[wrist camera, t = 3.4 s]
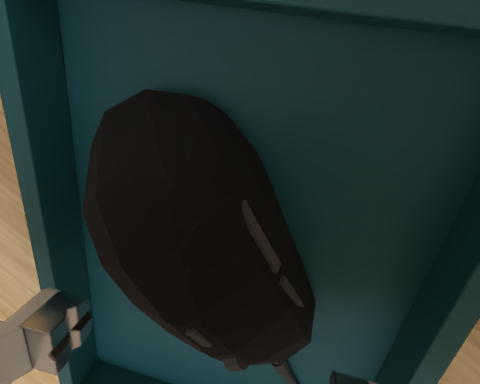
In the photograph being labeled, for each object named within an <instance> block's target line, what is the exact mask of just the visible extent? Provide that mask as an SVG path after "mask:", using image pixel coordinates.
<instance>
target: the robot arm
mask: <svg viewBox="0 0 480 384" xmlns="http://www.w3.org/2000/svg"><path fill="white" fill-rule="evenodd" d="M90 308H91V304H90V300H88V299H85V298H82V297H79V296H76V295H73V294H70V293H67V292H64V291H61V290H57V289H54V288H51V287H48V288H45V289H43V290H42V291H40V292H39V293H38V294H37V295H36V296H34V297H33V298H32V299H31V300H30V301H28V302H27V303H26V304H25V305H24V306H22V307H21V308H20V309H19V310H18V311H17V312H15V313H14V314H13V315H12V316H11V317H9V318H8V319H7V320H6V321H5V322H3V321H0V384H10V383H11V382H13V381H15V380H16V379H18V378H20V377H21V376H23V375H25V374H26V373H28V372H30V371H31V370H32V368H34V369H37V370H41V371H44V372H47V373H50V374H54V375H57V374H58V373H59V372H60V370H61V369H62V368H63V367H64V366H65V364H66V363H67V362H68V361H69V360H70V358H71V357H72V350H73V349H75V348H77V347H79V346H81V345H82V344H83V342H84V341H85V340H86V339H87V337H88V335H89V333H90V331H91V329H92V323H93V321H92V316H91V315H90V313H89V312H88V310H89V309H90ZM329 384H379V383H376V382H372V381H369V380H366V379H363V378H360V377H356V376H352V375H349V374H345V373H341V372H338V371H334V370H333V371H332V372H331V374H330V377H329Z"/></svg>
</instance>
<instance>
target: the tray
mask: <svg viewBox="0 0 480 384" xmlns="http://www.w3.org/2000/svg"><path fill="white" fill-rule="evenodd" d="M144 89H151V90H158V91H166V92H173V93H181V94H188V95H192V96H195V97H199V98H203V99H206V100H208V101H209V102H211V103H212V104H214V105H215V106H216V107H218V108H219V109H221V110H222V111H224V112H225V113H226V114H227V115H228V116H229V117H230V119H231V120H232V121H233V122H234V124H235V125H236V126H237V127H238V129H239V130H240V131H241V132H242V134H243V135H244V136H245V137H246V139H247V140H248V141H249V142H250V144H251V145H252V146H253V147H254V149H255V150H256V151H257V152H258V155H259V157H260V159H261V161H262V164H263V166H264V168H265V170H266V173H267V175H268V177H269V179H270V182H271V184H272V186H273V189H274V191H275V194H276V197H277V200H278V202H279V205H280V208H281V211H282V213H283V216H284V219H285V222H286V224H287V227H288V229H289V232H290V234H291V237H292V239H293V241H294V244H295V246H296V249H297V251H298V253H299V256H300V258H301V261H302V263H303V265H304V268H305V271H306V274H307V277H308V280H309V283H310V286H311V289H312V292H313V294H314V297H315V300H316V304H315V311H314V320H313V328H312V337H311V343H309V344H308V345H307V346H305V347H304V348H302V349H301V350H300V351H298V352H297V353H296V354H294V355H293V356H292V357H290V358H289V359H287V360H286V361H287V362H288V365H289V367H290V369H289V371H290V372H291V374H292V375H293V377H294V378H295V380H296V382H297V383H298V384H329V377H330V374H331V372H332V371H333V370H334V371H338V372H341V373H345V374H349V375H352V376H356V377H360V378H363V379H366V380H369V381H372V382H376V383H379V384H437V383H438V382H439V380H440V378H441V377H442V375H443V374H444V372H445V371H446V369H447V368H448V366H449V365H450V363H451V361H452V360H453V358H454V357H455V355H456V354H457V352H458V351H459V349H460V348H461V346H462V344H463V343H464V341H465V340H466V338H467V337H468V335H469V334H470V332H471V330H472V329H473V327H474V326H475V324H476V323H477V321H478V320H479V318H480V0H0V94H1V99H2V104H3V109H4V113H5V118H6V123H7V128H8V133H9V138H10V143H11V148H12V152H13V157H14V162H15V167H16V172H17V177H18V182H19V187H20V191H21V196H22V201H23V206H24V211H25V216H26V221H27V226H28V230H29V235H30V240H31V245H32V250H33V255H34V260H35V264H36V269H37V274H38V279H39V284H40V289H41V291H42V290H43V289H45V288H48V287H51V288H54V289H57V290H61V291H64V292H67V293H70V294H73V295H76V296H79V297H82V298H85V299H88V300H90V304H91V308H90V309H89V310H88V312H89V313H90V315H91V316H92V321H93V323H92V329H91V331H90V333H89V335H88V337H87V339H86V340H85V341H84V342H83V344H82V345H81V346H79V347H77V348H75V349H73V350H72V357H71V358H70V360H69V361H68V362H67V363H66V364H65V366H64V367H63V368H62V369H61V370H60V372H59V373H58V377H59V381H60V384H288V383H287V382H286V380H285V379H284V377H283V376H282V375H279V374H278V373H277V372H276V370H275V369H274V367H273V366H272V363H270V364H261V365H249V366H248V368H247V369H245V370H243V371H234V372H229V371H228V370H227V369H226V368H225V366H224V363H223V362H222V361H219V360H216V359H214V358H211V357H209V356H208V355H207V354H204V353H202V352H199V351H198V350H196V349H194V348H193V347H191V346H189V345H188V344H186V343H184V342H183V341H181V340H179V339H178V338H176V337H174V336H173V335H171V334H169V333H168V332H167V331H166V330H164V329H163V328H162V327H161V326H159V325H158V324H157V323H156V322H154V321H153V320H152V319H151V318H149V317H148V316H147V315H146V314H144V313H143V312H142V311H141V310H139V309H138V308H137V307H135V306H134V305H133V304H132V303H131V301H130V300H129V299H128V298H127V297H126V295H125V294H124V293H123V292H122V290H121V289H120V288H119V287H118V286H117V284H116V283H115V282H114V281H113V279H112V278H111V277H110V276H109V275H108V273H107V272H106V271H105V270H104V268H103V267H102V265H101V262H100V260H99V257H98V254H97V252H96V249H95V246H94V243H93V241H92V238H91V235H90V233H89V230H88V227H87V225H86V222H85V219H84V217H83V214H82V209H83V202H84V194H85V187H86V180H87V172H88V165H89V158H90V151H91V144H92V142H93V139H94V137H95V134H96V132H97V129H98V127H99V124H100V122H101V119H102V117H103V114H104V112H105V111H106V110H108V109H110V108H112V107H114V106H115V105H117V104H119V103H121V102H122V101H124V100H126V99H128V98H130V97H131V96H133V95H135V94H137V93H138V92H140V91H142V90H144Z"/></svg>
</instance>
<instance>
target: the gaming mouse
mask: <svg viewBox="0 0 480 384" xmlns="http://www.w3.org/2000/svg"><path fill="white" fill-rule="evenodd" d="M82 214H83V217H84V219H85V222H86V225H87V227H88V230H89V233H90V235H91V238H92V241H93V243H94V246H95V249H96V252H97V254H98V257H99V260H100V262H101V265H102V267H103V268H104V270H105V271H106V272H107V273H108V275H109V276H110V277H111V278H112V279H113V281H114V282H115V283H116V284H117V286H118V287H119V288H120V289H121V290H122V292H123V293H124V294H125V295H126V297H127V298H128V299H129V300H130V301H131V303H132V304H133V305H134V306H135V307H137V308H138V309H139V310H141V311H142V312H143V313H144V314H146V315H147V316H148V317H149V318H151V319H152V320H153V321H154V322H156V323H157V324H158V325H159V326H161V327H162V328H163V329H164V330H166V331H167V332H168V333H169V334H171V335H173V336H174V337H176V338H178V339H179V340H181V341H183V342H184V343H186V344H188V345H189V346H191V347H193V348H194V349H196V350H198V351H199V352H202V353H204V354H207V355H208V356H209V357H211V358H214V359H216V360H219V361H222V362H223V363H224V366H225V368H226V369H227V370H228V371H229V372H234V371H243V370H245V369H247V368H248V366H249V365H261V364H270V363H272V366H273V367H274V369H275V370H276V372H277V373H278V374H279V375H282V376H283V377H284V379H285V380H286V382H287V383H288V384H298V383H297V382H296V380H295V378H294V377H293V375H292V374H291V372H290V371H289V369H290V367H289V365H288V362H287V361H286V360H287V359H289V358H290V357H292V356H293V355H294V354H296V353H297V352H298V351H300V350H301V349H302V348H304V347H305V346H307V345H308V344H309V343H311V337H312V328H313V320H314V311H315V304H316V300H315V297H314V294H313V292H312V289H311V286H310V283H309V280H308V277H307V274H306V271H305V268H304V265H303V263H302V261H301V258H300V256H299V253H298V251H297V249H296V246H295V244H294V241H293V239H292V237H291V234H290V232H289V229H288V227H287V224H286V222H285V219H284V216H283V213H282V211H281V208H280V205H279V202H278V200H277V197H276V194H275V191H274V189H273V186H272V184H271V182H270V179H269V177H268V175H267V173H266V170H265V168H264V166H263V164H262V161H261V159H260V157H259V155H258V152H257V151H256V150H255V149H254V147H253V146H252V145H251V144H250V142H249V141H248V140H247V139H246V137H245V136H244V135H243V134H242V132H241V131H240V130H239V129H238V127H237V126H236V125H235V124H234V122H233V121H232V120H231V119H230V117H229V116H228V115H227V114H226V113H225V112H224V111H222V110H221V109H219V108H218V107H216V106H215V105H214V104H212V103H211V102H209V101H208V100H206V99H203V98H199V97H195V96H192V95H188V94H181V93H173V92H166V91H158V90H151V89H144V90H142V91H140V92H138V93H137V94H135V95H133V96H131V97H130V98H128V99H126V100H124V101H122V102H121V103H119V104H117V105H115V106H114V107H112V108H110V109H108V110H106V111H105V112H104V114H103V117H102V119H101V122H100V124H99V127H98V129H97V132H96V134H95V137H94V139H93V142H92V144H91V151H90V158H89V165H88V172H87V180H86V187H85V194H84V202H83V209H82Z"/></svg>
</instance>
